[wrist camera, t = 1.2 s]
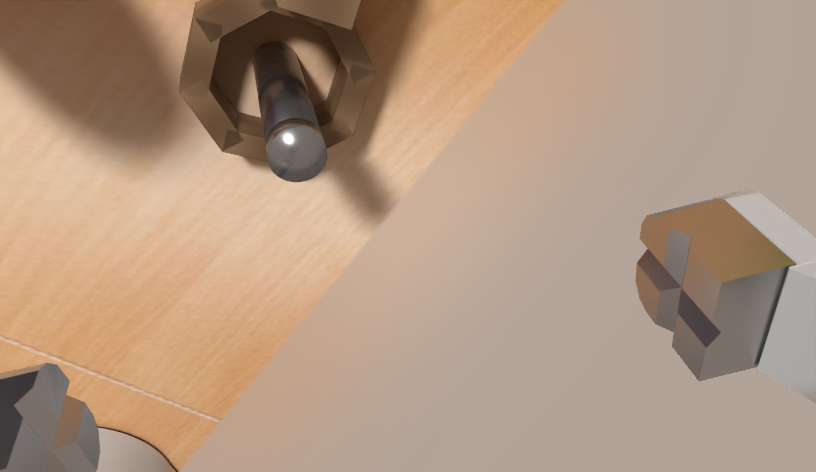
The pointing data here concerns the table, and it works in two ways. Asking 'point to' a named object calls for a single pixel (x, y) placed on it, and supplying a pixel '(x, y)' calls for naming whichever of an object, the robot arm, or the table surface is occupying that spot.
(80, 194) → the table surface
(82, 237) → the table surface
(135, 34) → the table surface
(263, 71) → the dark grey metal cylinder
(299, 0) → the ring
